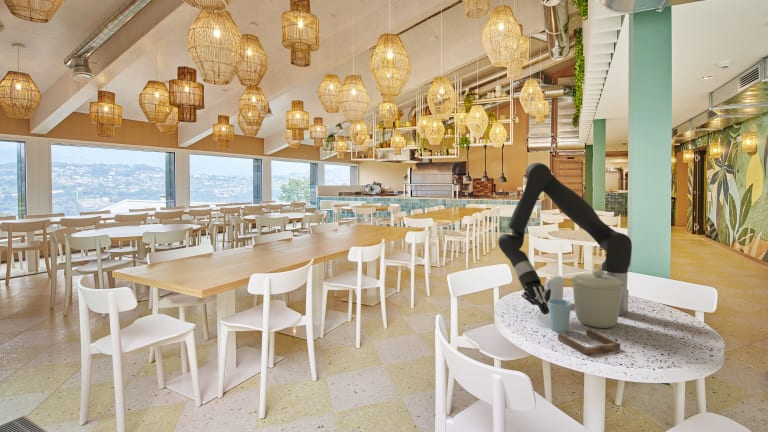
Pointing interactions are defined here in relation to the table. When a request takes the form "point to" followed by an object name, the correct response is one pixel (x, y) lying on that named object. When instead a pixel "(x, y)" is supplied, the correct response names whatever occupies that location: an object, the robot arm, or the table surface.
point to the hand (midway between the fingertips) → (546, 313)
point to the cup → (559, 314)
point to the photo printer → (554, 287)
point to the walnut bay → (607, 347)
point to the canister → (597, 298)
